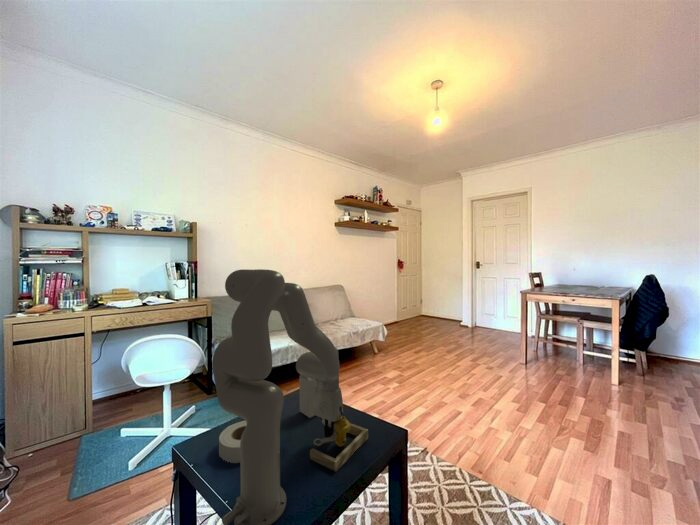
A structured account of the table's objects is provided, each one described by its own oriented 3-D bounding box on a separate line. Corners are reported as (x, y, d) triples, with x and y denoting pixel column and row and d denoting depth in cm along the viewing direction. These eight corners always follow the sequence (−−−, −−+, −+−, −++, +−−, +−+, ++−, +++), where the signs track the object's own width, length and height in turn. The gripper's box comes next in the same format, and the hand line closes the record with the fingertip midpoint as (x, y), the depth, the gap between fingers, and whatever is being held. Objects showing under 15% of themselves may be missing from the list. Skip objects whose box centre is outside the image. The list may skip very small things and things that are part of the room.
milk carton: (299, 411, 117) (299, 366, 117) (313, 405, 122) (313, 362, 122) (309, 418, 112) (308, 371, 112) (323, 412, 117) (323, 366, 117)
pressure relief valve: (349, 449, 94) (353, 422, 92) (315, 457, 89) (318, 429, 88) (343, 437, 99) (347, 411, 97) (310, 444, 94) (313, 417, 93)
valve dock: (336, 472, 83) (336, 462, 83) (309, 459, 89) (309, 450, 89) (368, 438, 99) (368, 429, 99) (344, 428, 105) (344, 420, 105)
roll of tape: (241, 430, 105) (241, 415, 105) (277, 439, 99) (277, 423, 99) (207, 458, 90) (207, 441, 90) (248, 470, 85) (247, 452, 85)
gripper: (304, 382, 98) (305, 434, 99) (339, 393, 90) (340, 449, 91) (318, 374, 105) (319, 423, 105) (352, 384, 97) (353, 436, 97)
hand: (329, 435), depth 98 cm, fingers closed
